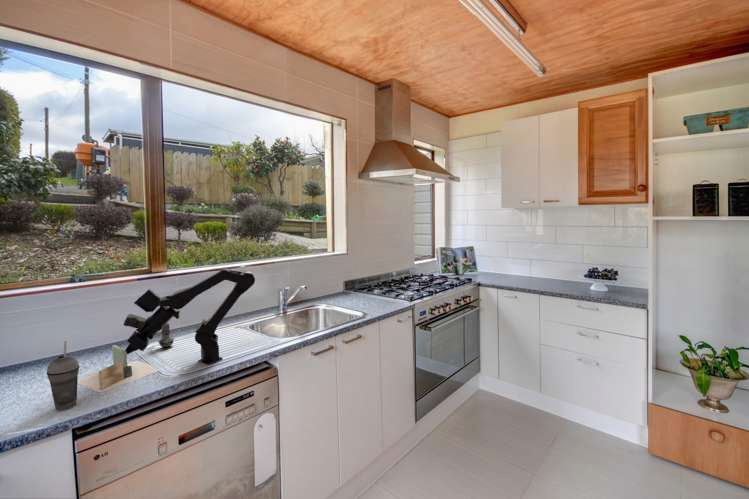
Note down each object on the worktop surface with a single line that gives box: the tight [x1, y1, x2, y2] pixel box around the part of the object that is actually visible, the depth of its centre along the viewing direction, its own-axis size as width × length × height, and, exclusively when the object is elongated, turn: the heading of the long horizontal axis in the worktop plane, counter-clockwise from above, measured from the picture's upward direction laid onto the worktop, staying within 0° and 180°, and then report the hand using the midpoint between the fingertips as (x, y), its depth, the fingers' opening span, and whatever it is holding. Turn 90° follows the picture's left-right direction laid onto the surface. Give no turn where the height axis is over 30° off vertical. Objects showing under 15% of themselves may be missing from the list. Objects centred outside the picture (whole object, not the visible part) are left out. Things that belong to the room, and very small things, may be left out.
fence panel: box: [111, 344, 128, 374], centre depth 129 cm, size 11×1×8 cm, turn 53°
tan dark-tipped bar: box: [98, 362, 132, 389], centre depth 120 cm, size 11×2×6 cm, turn 167°
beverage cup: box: [45, 340, 80, 412], centre depth 104 cm, size 7×7×20 cm
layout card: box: [77, 360, 159, 394], centre depth 126 cm, size 17×20×1 cm
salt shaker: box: [158, 322, 175, 351], centre depth 152 cm, size 6×6×12 cm
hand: (124, 353), depth 128 cm, fingers closed
